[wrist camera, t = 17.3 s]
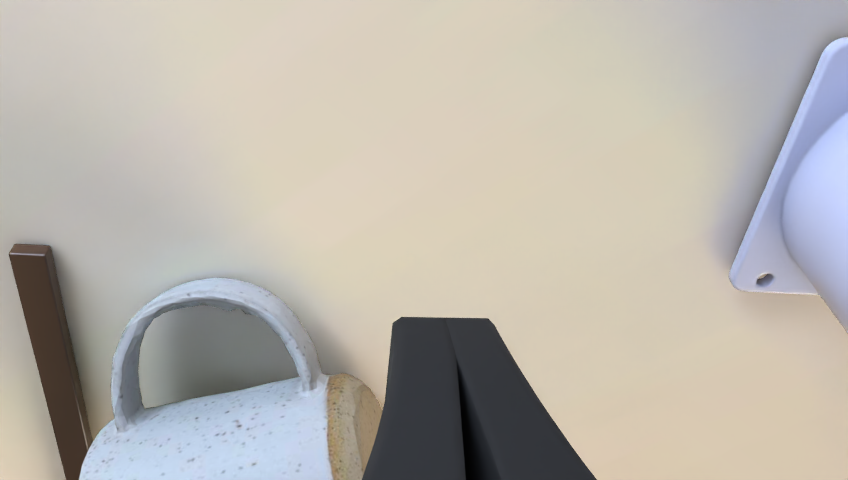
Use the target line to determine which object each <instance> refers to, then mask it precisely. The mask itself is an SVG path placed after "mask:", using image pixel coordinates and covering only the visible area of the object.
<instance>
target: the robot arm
mask: <svg viewBox="0 0 848 480" xmlns="http://www.w3.org/2000/svg"><path fill="white" fill-rule="evenodd" d="M763 274H767V275H766V276H765V277H763V278H761V279H758V278H759V277H760V276H761V275H763ZM729 279H730V282H731V283H732V285H733V287H734V288H736V289H737V290H739V291H746V292H766V293H786V294H806V295H820V296H821V298H822V299H823V300H824V302H825V303H826V304H827V306H828V307H829V309H830V310H831V311H832V313H833V314H834V315H835V317H836V318H837V320H838V321H839V322H840V324H841V325H842V326H843V328H844V329H845V331H846V332H847V333H848V37H843V38H839V39H837V40H835V41H833V42H832V43H830V44H829V45H828V46H827V47H826V48H825V50H824V51H823V53H822V55H821V57H820V59H819V62H818V64H817V66H816V69H815V71H814V74H813V76H812V78H811V81H810V83H809V85H808V88H807V90H806V92H805V95H804V97H803V99H802V102H801V104H800V107H799V109H798V111H797V114H796V116H795V118H794V121H793V123H792V125H791V128H790V130H789V132H788V135H787V137H786V140H785V142H784V144H783V147H782V149H781V151H780V154H779V156H778V158H777V161H776V163H775V166H774V168H773V170H772V173H771V175H770V177H769V180H768V182H767V184H766V187H765V189H764V191H763V194H762V196H761V199H760V201H759V203H758V206H757V208H756V210H755V213H754V215H753V217H752V220H751V222H750V224H749V227H748V229H747V232H746V234H745V236H744V239H743V241H742V243H741V246H740V248H739V250H738V253H737V255H736V257H735V260H734V262H733V265H732V267H731V269H730V272H729ZM362 480H597V479H596V478H595V477H594V475H593V474H592V473H591V472H590V470H589V469H588V468H587V467H586V465H585V464H584V463H583V461H582V460H581V458H580V457H579V456H578V454H577V453H576V452H575V450H574V449H573V448H572V446H571V445H570V444H569V442H568V441H567V439H566V438H565V436H564V435H563V433H562V432H561V431H560V429H559V428H558V426H557V425H556V423H555V422H554V421H553V419H552V418H551V416H550V415H549V413H548V412H547V411H546V409H545V408H544V406H543V405H542V403H541V402H540V400H539V399H538V397H537V396H536V394H535V393H534V391H533V389H532V388H531V386H530V385H529V383H528V381H527V380H526V378H525V377H524V375H523V374H522V372H521V370H520V369H519V367H518V365H517V364H516V362H515V360H514V359H513V357H512V355H511V354H510V352H509V350H508V349H507V347H506V345H505V343H504V342H503V340H502V338H501V336H500V335H499V333H498V331H497V329H496V327H495V326H494V324H493V323H492V322H491V321H490V320H489V319H487V318H426V317H401V318H400V319H398V320H397V321H395V322H394V323H393V326H392V336H391V346H390V356H389V366H388V376H387V387H386V397H385V404H384V408H383V411H382V415H381V419H380V423H379V427H378V431H377V435H376V438H375V442H374V445H373V448H372V451H371V454H370V457H369V460H368V463H367V466H366V469H365V472H364V475H363V478H362Z"/></svg>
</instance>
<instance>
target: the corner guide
mask: <svg viewBox="0 0 848 480" xmlns="http://www.w3.org/2000/svg"><path fill="white" fill-rule="evenodd" d="M9 257H10V261H11V265H12V269H13V273H14V277H15V280H16V284H17V288H18V292H19V296H20V300H21V304H22V308H23V312H24V316H25V320H26V324H27V327H28V331H29V335H30V339H31V343H32V347H33V351H34V355H35V359H36V363H37V367H38V371H39V375H40V378H41V382H42V386H43V390H44V394H45V398H46V402H47V406H48V410H49V414H50V418H51V422H52V425H53V429H54V433H55V437H56V441H57V445H58V449H59V453H60V457H61V461H62V465H63V469H64V472H65V476H66V480H79V477H80V473H81V467H82V464H83V461H84V459H85V457H86V454H87V452H88V450H89V448H90V446H91V444H92V443H93V442H92V437H91V432H90V428H89V423H88V418H87V414H86V409H85V404H84V400H83V395H82V390H81V386H80V381H79V376H78V372H77V367H76V363H75V358H74V353H73V349H72V344H71V339H70V335H69V330H68V325H67V321H66V316H65V311H64V307H63V302H62V297H61V293H60V288H59V283H58V279H57V274H56V269H55V265H54V260H53V255H52V251H51V247H50V246H46V245H27V244H15V245H14V246H13V248H12V249H11V251H10V252H9Z"/></svg>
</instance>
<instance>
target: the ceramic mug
mask: <svg viewBox="0 0 848 480" xmlns="http://www.w3.org/2000/svg"><path fill="white" fill-rule="evenodd" d="M199 305H209V306H212V307H216V308H219V309H223V310H226V311H232V310H235V309H241V310H242V311H243V312H244V313H245V314H250V315H255V316H258V317H259V318H261V319H262V320H264V321H265V322H266V323H267V324H268V325H269V326H270V327H271V328H272V330H273V331H274V332H275V333H276V334H277V335H278V336H280V337H281V338H282V340H283V343H284V345H285V347H286V348H287V350H288V352H289V354H290V355H291V357H292V359H293V361H294V363H295V365H296V368H297V372H298V375H299V377H294V378H290V379H285V380H281V381H276V382H272V383H268V384H264V385H259V386H255V387H251V388H247V389H243V390H238V391H233V392H227V393H221V394H215V395H209V396H204V397H199V398H194V399H188V400H184V401H180V402H174V403H169V404H165V405H162V406H158V407H151V408H144V406H143V403H142V397H141V392H140V387H139V374H138V365H139V354H140V346H141V342H142V339H143V336H144V333H145V330H146V329H147V327H148V326H149V325H150V324H151V322H152V321H153V319H154V318H156V317H158V316H160V315H161V314H163V313H166V312H168V311H171V310H175V309H180V308H186V307H193V306H199ZM111 397H112V409H113V413H114V419H113V420H112V421H110V422H109V423H108V424H107V425H106V426H105V427H104V428H103V429H101V430H100V432H99V433H98V435H97V436H96V437H95V439H94V441H93V443H92V444H91V446H90V448H89V450H88V452H87V454H86V457H85V459H84V461H83V464H82V467H81V473H80V477H79V480H362V478H363V475H364V472H365V469H366V466H367V463H368V460H369V457H370V454H371V451H372V448H373V445H374V442H375V438H376V435H377V431H378V427H379V423H380V419H381V415H382V409H381V407H380V405H379V402H378V400H377V399H376V397H375V396H374V394H373V392H372V391H371V389H370V388H369V387H368V386H367V385H365V384H364V383H363V382H362V381H361V380H359V379H357V378H355V377H353V376H351V375H348V374H344V373H341V374H333V375H325V374H323V373H322V372H321V369H320V364H319V361H318V357H317V352H316V349H315V347H314V344H313V342H312V340H311V338H310V337H309V335H308V333H307V332H306V330H305V329H304V327H303V326H302V324H301V322H300V321H299V319H298V317H297V316H296V315H295V314H294V313H293V312H292V311H291V309H290V308H289V307H288V306H287V305H286V304H285V303H284V302H283V301H282V300H281V299H279V298H278V297H277V296H275V295H274V294H272V293H271V292H270V291H268V290H266V289H264V288H262V287H260V286H257V285H254V284H250V283H247V282H244V281H240V280H235V279H230V278H210V279H201V280H194V281H190V282H186V283H183V284H181V285H178V286H175V287H173V288H171V289H168V290H167V291H165V292H164V293H162V294H161V295H159V296H158V297H156V298H155V299H153V300H152V301H150V302H149V303H148V304H146V305H145V306H144V307H143V308H142V309H141V310H140V311H139V312H138V313H137V314H136V315H135V316H134V317H133V318H132V319H131V320H130V321H129V323H128V324H127V326H126V328H125V330H124V332H123V333H122V336H121V338H120V341H119V343H118V346H117V348H116V352H115V355H114V357H113V363H112V376H111Z"/></svg>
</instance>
